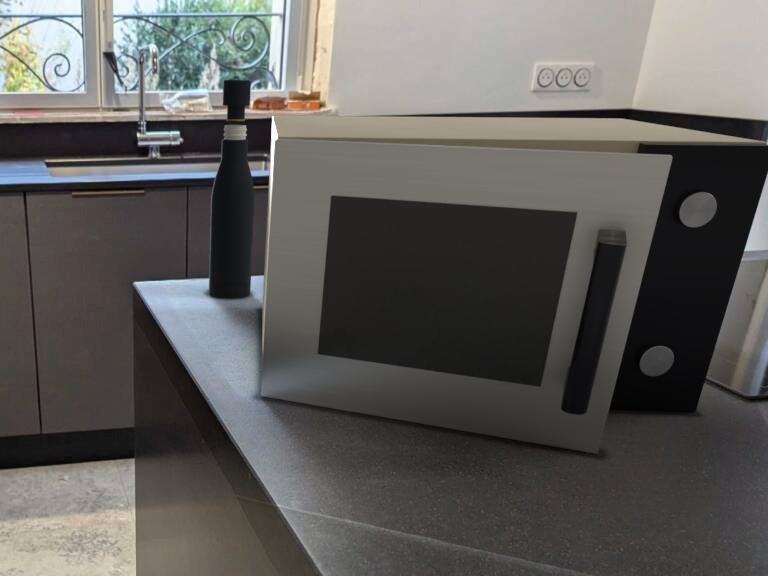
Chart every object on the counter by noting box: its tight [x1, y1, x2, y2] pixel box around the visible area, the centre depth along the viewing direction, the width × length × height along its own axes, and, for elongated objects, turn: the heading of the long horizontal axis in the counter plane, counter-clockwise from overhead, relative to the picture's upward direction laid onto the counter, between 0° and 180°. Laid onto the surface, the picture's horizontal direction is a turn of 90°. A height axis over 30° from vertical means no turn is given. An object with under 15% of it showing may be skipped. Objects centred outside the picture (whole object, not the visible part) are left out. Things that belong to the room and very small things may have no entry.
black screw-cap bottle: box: [208, 79, 256, 299], centre depth 121 cm, size 6×6×30 cm
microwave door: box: [260, 139, 673, 455], centre depth 74 cm, size 8×33×26 cm, turn 64°
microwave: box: [261, 115, 768, 413], centre depth 96 cm, size 35×44×26 cm
